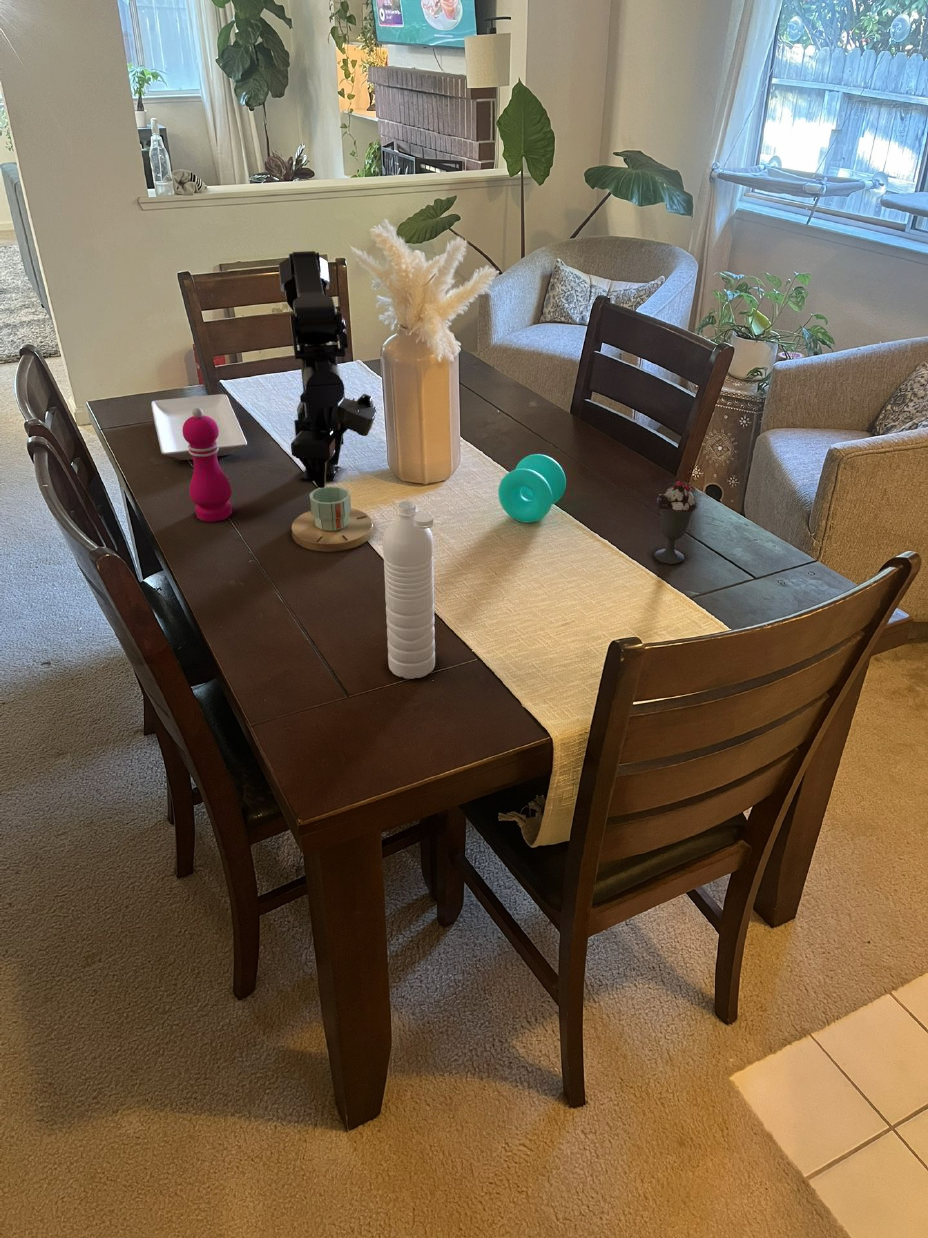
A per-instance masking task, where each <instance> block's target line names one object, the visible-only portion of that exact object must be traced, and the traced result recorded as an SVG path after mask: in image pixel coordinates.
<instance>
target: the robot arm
mask: <svg viewBox="0 0 928 1238" xmlns="http://www.w3.org/2000/svg"><path fill="white" fill-rule="evenodd" d="M278 275H279V276H278V277H279V285H280V291H281V292H284V295H285V300H286V303H287V305H288V306H289V308H290V309H291V311H292V313H289V322H290V331H291V339H292V346H293V355H294V360H299V361H300V373H301V381H302V384H301V385H302V393H301V394H300V395H299V400H300V401H299V403H298V405H297V407H296V417H297V419H294V420H293V421H294V423H293V424H294V437H295V438H294V439H293V440H292V441H291V443H290V450H291V451H290V452H291V456H292V457H295V459H298V460H299V461H300V463H301V464H302V466H303V467H304V468H305V470H304V471H303V473H302V474H301V476H300V481H310V482H314V484H315V485H316V488H324V487H326V482H327V483H333V482H334V481H335V480H336V478H337V476H338V474H339V473H340V471H341V466H339V465H338V464H339V461H340V454H341V450H342V446H343V445H344V444H345V442H344V434H345V433H346V432H347V431H348V430H350V431H353V432H355V433H357V435H358V436H362V437H367V436H368V435H369V433H370V431H371V430H372V427H373V424H374V421H375V418H376V416H377V413H378V412H377V407H376V406H374V401H373V397H372V396H371V395H369V394H366V393H362V395H360V397H358V399H356V398H352V399H349V398H346V395H345V384H344V381H343V378H342V374H341V371H340V368H339V367H338V366H339V365H338V357H346V349H348V347H349V343H348V342H349V341H348V336H347V335H348V334H347V329H346V320H345V318H344V317H343V316H342V312H341V311H340V310H337V308H336V304H335V301H334V299H333V298H331V297H330V296H327V290H330V283H331V282H330V281H331V280H330V272H329V264H328V261H327V260H325V259H324V258H322V257H321V256H320V252H318V251H317V252H316V251H315V250H307V251H305V250H304V251H293V252H292V253H288V258H285V259H284V260H282V261H280V262H279V263H278ZM336 343H339V345H338V344H336Z"/></svg>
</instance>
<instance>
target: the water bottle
mask: <svg viewBox="0 0 928 1238" xmlns="http://www.w3.org/2000/svg"><path fill="white" fill-rule="evenodd" d="M395 512H396V516H395V517H394V518H393V520H392V521H391V523H390V524H389V525H388V527H387V528H386V529H385V531H384V533H383V538H382V551H383V552H382V553H383V566H384V567H383V571H384V589H385V590H384V592H385V593H384V600H385V615H386V621H385V622H386V626H387V628H386V635H387V636H386V637H387V663H388V668H389V670H390V671H391V672H392V674H393V675H395V676H397V677H399V678H403V679H407V680H413V679H420V678H423V677H426V676H428V674H431V673H432V672H433V671H434V669H435V666H436V651H435V650H436V641H435V636H436V634H435V633H436V631H435V630H436V629H435V622H436V621H435V588H434V587H435V576H434V570H435V569H434V548H435V547H434V545H435V544H434V536H433V534H432V531H431V529H430V528H433V526H434V524H435V523H434V520H435V519H434V515H432V514H431V513H427V512H420V513H419V509H418V508H417V504H416V503H415V502H414V501H411V500H403V501H400V502H399V503H398V504H397V508H396V510H395Z"/></svg>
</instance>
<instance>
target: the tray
mask: <svg viewBox="0 0 928 1238" xmlns="http://www.w3.org/2000/svg"><path fill="white" fill-rule="evenodd" d="M150 403H151V404H150V405H151V411H152V416H153V422H154V427H155V431H156V435H157V440H158V444H159V449H160V452H161V454H162V455H164V456H166V457H169V458H175V459H177V460H179V461H189V460H193V457H192V455H191V454H190V453H189V448H188V445H189V443H188V442H187V441H186V440H185V439H184V437H183V431H182V430H183V425H184V423H185V421H186V420H187V419H189V418H190V417H192V416H193V414H192V411H193V409H195V408H200V409H202V411H203V415H205V416H208V417H210V418H212V419H213V420H214V421H215V422H216V424H217V426H218V429H219V435H218V438H217V439H216V442H217V443H218V448H219V450H218V452H217V457H223V456H230V455H232V454H233V453H234V452H236V451H239V450H241V449H242V448H245V447H246V446H247V445H248V441H247V439H246V437H245V435H244V432H243V430H242V428H241V425H240V422H239V419H238V418H237V415H236V413H235V410H234V408H233V407H232V404H231V402H230V399H229V397H228V395H227V394H223V393H220V394H210V395H199V396H187V397H178V398H168V399H167V398H166V399H157V400H152V401H151V402H150Z"/></svg>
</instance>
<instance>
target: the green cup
mask: <svg viewBox="0 0 928 1238" xmlns="http://www.w3.org/2000/svg"><path fill="white" fill-rule="evenodd" d="M308 495H309V505H310V511H311V514H312V515H313V516H314V520H315V525H316V526H317V527H318V528H319V529H322V530H326V531H335V530H340V529H343V528H344V527H346V526H347V525H348V524H349V513H350V512H351V508H352V502H351V499H352V498H351V493H350V490H348V489H346V488H344V487H342V486H335V485H334V486H333V485H328V486H327V485H326V486H325V487H324V488H318V487H316V488H315V489H314V490H312V491H311V492H310V493H309V494H308Z"/></svg>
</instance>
